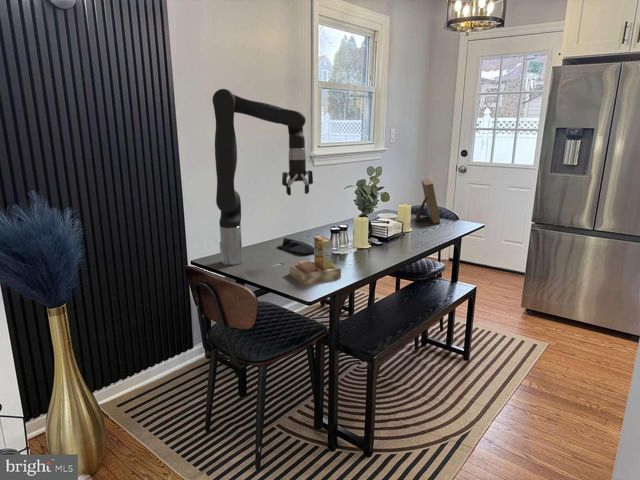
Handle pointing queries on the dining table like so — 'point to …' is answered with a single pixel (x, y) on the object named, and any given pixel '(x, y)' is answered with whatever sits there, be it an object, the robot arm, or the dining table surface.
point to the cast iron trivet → (296, 247)
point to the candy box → (322, 253)
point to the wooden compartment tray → (314, 274)
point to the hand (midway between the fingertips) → (297, 194)
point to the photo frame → (429, 202)
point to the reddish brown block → (306, 266)
